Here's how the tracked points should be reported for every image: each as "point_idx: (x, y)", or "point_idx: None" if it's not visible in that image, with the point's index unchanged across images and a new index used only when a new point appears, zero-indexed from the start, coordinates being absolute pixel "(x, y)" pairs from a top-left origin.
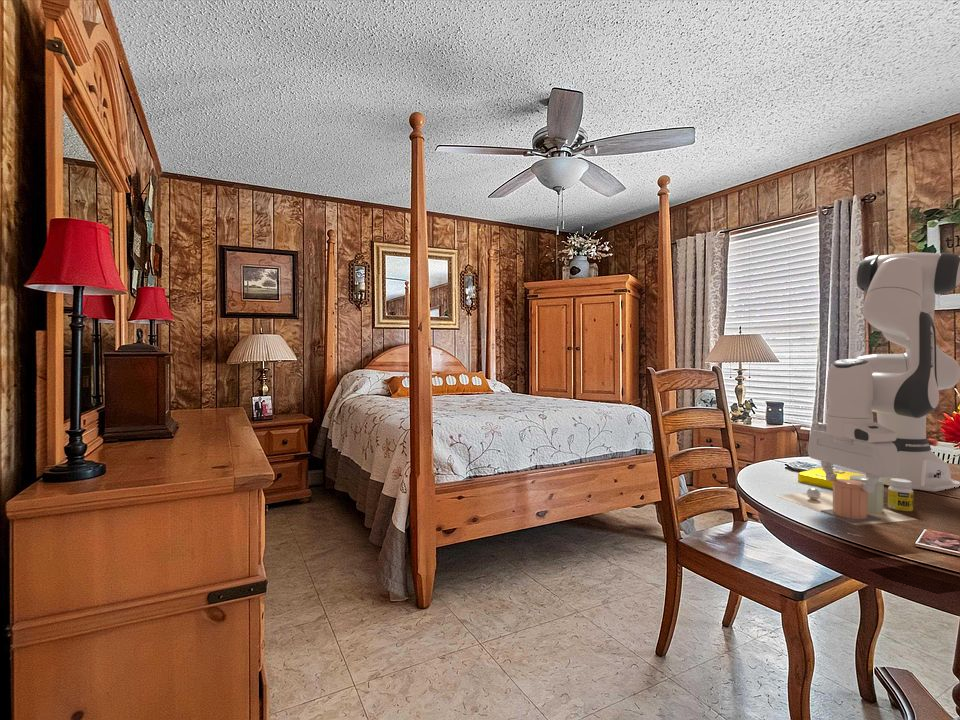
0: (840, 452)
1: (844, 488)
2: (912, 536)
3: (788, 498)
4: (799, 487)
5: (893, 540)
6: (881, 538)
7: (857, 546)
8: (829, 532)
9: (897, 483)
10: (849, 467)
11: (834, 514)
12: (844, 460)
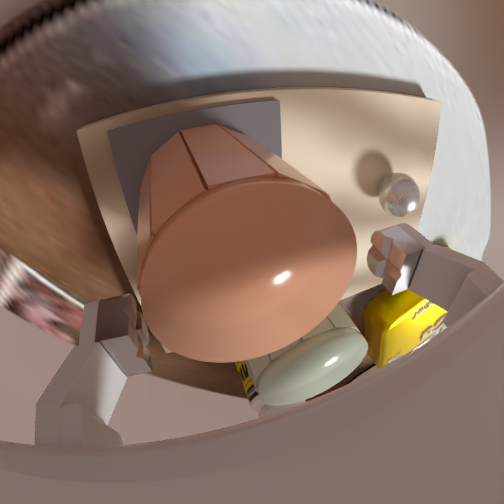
0: (473, 501)
1: (188, 197)
2: (70, 285)
3: (416, 114)
4: (444, 243)
5: (20, 211)
6: (29, 182)
7: None
8: (89, 15)
9: (277, 411)
10: (266, 430)
11: (213, 117)
12: (380, 470)
